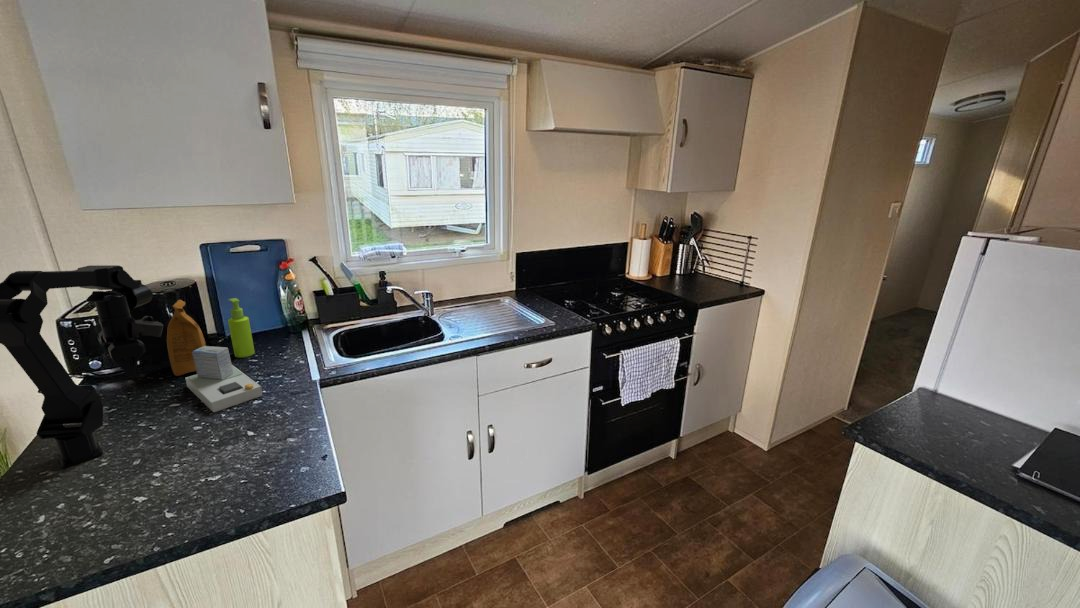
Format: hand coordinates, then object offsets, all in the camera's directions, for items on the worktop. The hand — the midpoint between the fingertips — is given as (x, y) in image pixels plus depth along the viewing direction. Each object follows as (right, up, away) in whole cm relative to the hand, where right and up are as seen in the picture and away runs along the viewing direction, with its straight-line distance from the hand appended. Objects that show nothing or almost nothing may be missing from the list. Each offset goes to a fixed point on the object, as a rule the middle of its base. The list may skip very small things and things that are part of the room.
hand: (129, 372), depth 112 cm
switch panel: (+14, -8, +15) cm, 22 cm away
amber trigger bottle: (-7, -3, +29) cm, 30 cm away
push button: (+19, -9, +11) cm, 23 cm away
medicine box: (+10, -4, +17) cm, 20 cm away
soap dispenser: (+3, 0, +40) cm, 40 cm away
